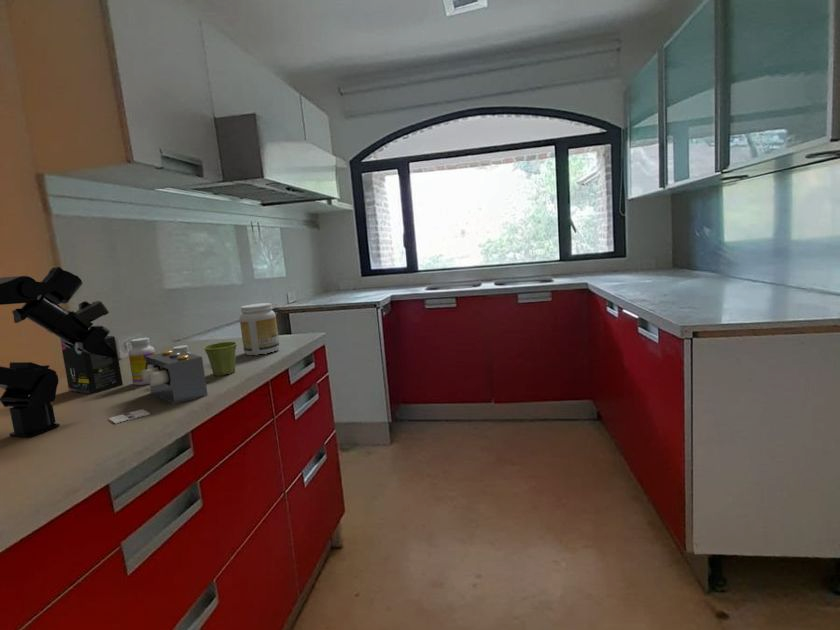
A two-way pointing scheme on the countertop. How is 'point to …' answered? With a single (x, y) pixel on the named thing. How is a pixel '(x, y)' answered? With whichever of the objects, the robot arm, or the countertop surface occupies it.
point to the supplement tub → (259, 329)
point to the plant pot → (221, 357)
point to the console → (179, 376)
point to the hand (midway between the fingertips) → (116, 356)
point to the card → (129, 416)
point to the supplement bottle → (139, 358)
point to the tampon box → (91, 369)
